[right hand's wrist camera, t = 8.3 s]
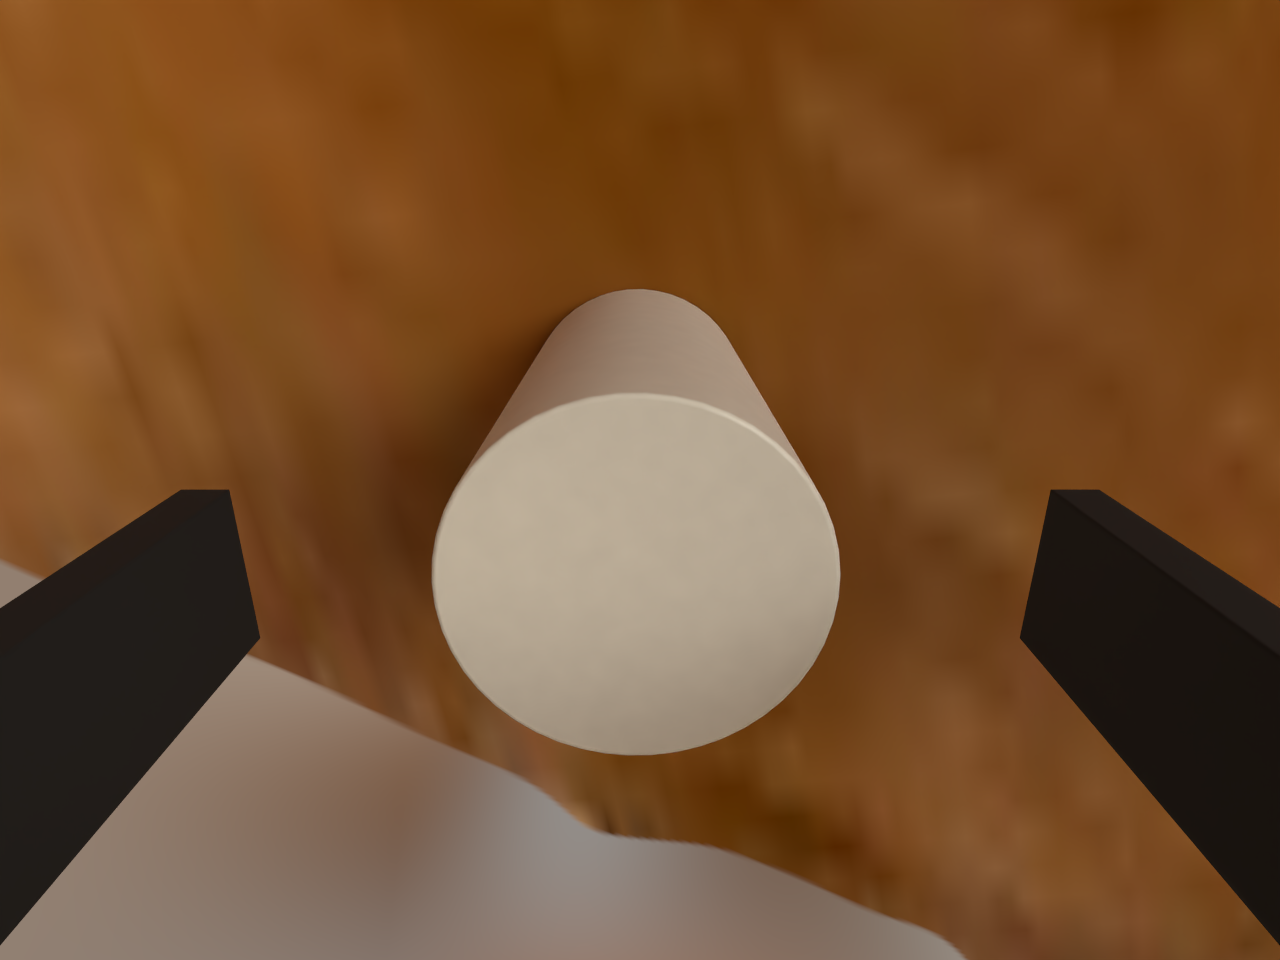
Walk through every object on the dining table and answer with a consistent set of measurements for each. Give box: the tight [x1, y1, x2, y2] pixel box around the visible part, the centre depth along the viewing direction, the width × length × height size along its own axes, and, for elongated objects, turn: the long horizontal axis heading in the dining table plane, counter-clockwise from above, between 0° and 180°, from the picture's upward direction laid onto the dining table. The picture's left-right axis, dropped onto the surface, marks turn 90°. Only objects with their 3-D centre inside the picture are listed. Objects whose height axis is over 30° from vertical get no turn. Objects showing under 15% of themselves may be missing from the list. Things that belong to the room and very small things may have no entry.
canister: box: [432, 289, 840, 755], centre depth 17 cm, size 6×6×12 cm
